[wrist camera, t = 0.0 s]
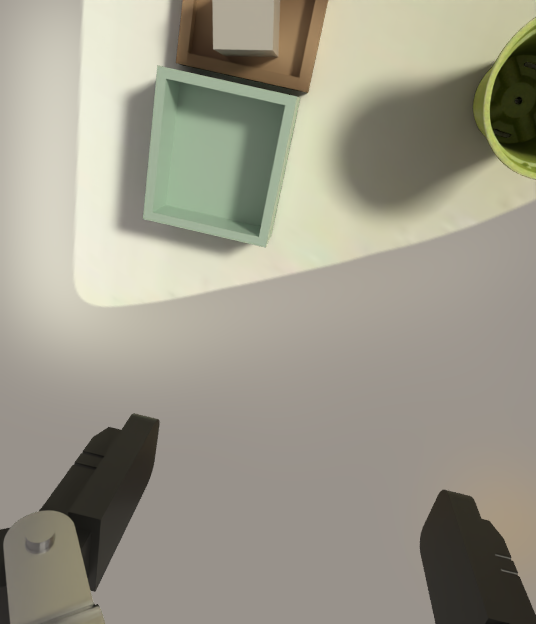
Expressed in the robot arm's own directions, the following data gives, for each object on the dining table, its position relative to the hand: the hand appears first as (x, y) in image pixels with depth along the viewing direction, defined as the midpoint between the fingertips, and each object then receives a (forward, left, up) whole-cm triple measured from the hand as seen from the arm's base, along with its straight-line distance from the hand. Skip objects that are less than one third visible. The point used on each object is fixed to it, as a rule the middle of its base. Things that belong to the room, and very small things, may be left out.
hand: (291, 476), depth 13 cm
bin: (-4, -9, -29) cm, 31 cm away
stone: (-14, -8, -29) cm, 33 cm away
